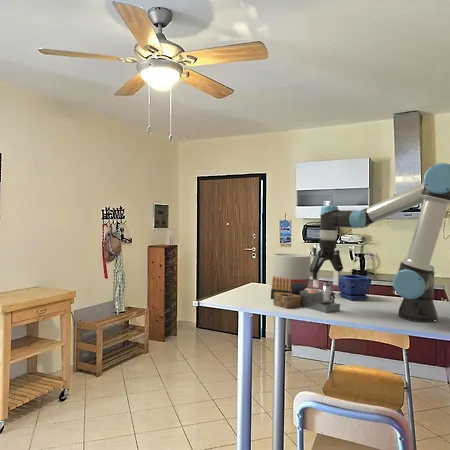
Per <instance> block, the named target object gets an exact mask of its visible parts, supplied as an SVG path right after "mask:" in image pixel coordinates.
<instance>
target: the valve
mask: <svg viewBox="0 0 450 450" xmlns="http://www.w3.org/2000/svg"><path fill="white" fill-rule="evenodd" d="M309 290H315V291H318V289H317V288H310V289H309ZM335 295H336V293H335V292H334V291H331V290H330V302H332V303H336V302H335V299H336V296H335Z"/></svg>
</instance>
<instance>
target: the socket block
mask: <svg viewBox="0 0 450 450" xmlns="http://www.w3.org/2000/svg"><path fill="white" fill-rule="evenodd" d="M308 290H309V289H305V290H304V291H300V293H299V296H301V307H302V308H306V309H310V310H314V311H317V312H320V313H325V314H327V313H328V314H329V313H333V312H334V313H336V312H340V305H341V304H340V303H337V302H334V303H332V302H330V305H325V304H323V291H318V290H317V291H315V290H313V291H315V293H310V292H308Z"/></svg>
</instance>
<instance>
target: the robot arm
mask: <svg viewBox="0 0 450 450" xmlns="http://www.w3.org/2000/svg"><path fill="white" fill-rule="evenodd" d="M421 204H422V205H421ZM418 205H421V209H420V211H419V212H420V213H419V216H418V219H417V222H416V225H415V229H414V232H413V235H412V239H411V242H410V246H409V249H408V251H407V256H406V257H405V258H404V259H402V260H401V261H400V264H399V268H398V270H397V272H396V273H395V275H394V276H393V278H392V287H393V289H394V291H395V293H397V295H399V296H400V297H402V300H401V303H400V306H399V308H398V312H397V314H398V317H399V318H401V319H404V318H405V319H404V320H407V319H409V320H408V321H413V320H416V321H415V322H420V321H434V320H437V321H438V312H437V310H436V309H437V308H436V306H435V303H434V302H435V301H434V291H435V289H434V285H435V284H434V283H435V274H436V272H435V267H434V266H433V265H431V261H432V258H433V254H434V252H435V251H434V250H435V248H436V246H437V242H438V238H439V235H440V232H441V228H442V225H443V223H444V220H445V215H446V213H447V210H448V207H449V205H450V163H446V162H445V163H444V162H440V163H436V164H433V165H431V166H430V167H429V168H428V169H427V170H426V171H425V172H424V175H423V181H422V182H421V184H418V185H416V186H414V187H411V188H409V189H407V190H405V191H402V192H400V193H397V194H395V195H393V196H391V197H388V198H387V199H384V200H381V201H379V202H376V203H374V204H372V205H370V206H367V207H366V208H363V209H361V210H359V209H358V210H355V209H354V210H351V209H350V210H347V209H346V210H340V209H339V207H338V205H322V207H320V214H319V216H320V221H319V222H320V225H319V243H318V244H319V245H318V247H319V248H320V249H319V250H318V249H317V250H315V251H314V257H313V258H312V260H311V266H310V269H309V270H310V273H312V288H316V289H317V288H319V287H320V272H319V271H320V269H321V267H322V266H323V265H324V262H326V261H330V263H331V266H332V267H333V269H334V270H333V276H332V285H333V286H337V287H338V285H339V275H341V273H340V272H342V271H343V270H344V266H343V263H342V262H343V261H342V258H341V255H340V250H339V249H337V242H338V241H337V238H338V228H351V229H364V228H367V227H369V226H370V225H372V224H374V223H376V222H379V221H382V220H383V219H386V218H389V217H392V216H394V215H396V214H399V213H400V212H401V213H402V212H404V211H405V210H409V209H410V208H413V207H416V206H418ZM434 322H435V321H434Z"/></svg>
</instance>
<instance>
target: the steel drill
mask: <svg viewBox="0 0 450 450" xmlns="http://www.w3.org/2000/svg"><path fill="white" fill-rule="evenodd" d="M322 292H323V304H325V305H330V294H331V283H325V282H324V283H322Z"/></svg>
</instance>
